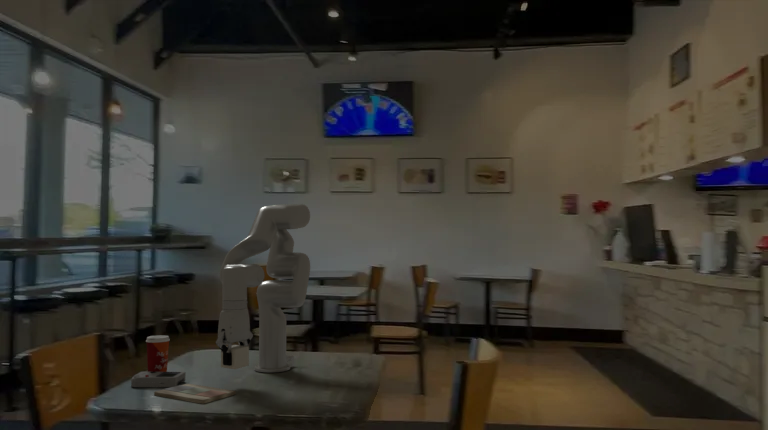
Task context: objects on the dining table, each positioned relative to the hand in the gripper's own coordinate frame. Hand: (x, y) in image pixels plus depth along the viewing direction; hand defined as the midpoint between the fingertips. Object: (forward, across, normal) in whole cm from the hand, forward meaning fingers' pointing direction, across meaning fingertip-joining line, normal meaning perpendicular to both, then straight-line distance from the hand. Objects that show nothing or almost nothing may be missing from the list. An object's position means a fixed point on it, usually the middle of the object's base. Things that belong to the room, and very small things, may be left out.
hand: (235, 362), depth 200 cm
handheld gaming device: (+8, +10, -23) cm, 27 cm away
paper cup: (+8, +5, -30) cm, 31 cm away
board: (+7, +14, -3) cm, 16 cm away
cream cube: (+1, 0, 0) cm, 1 cm away
